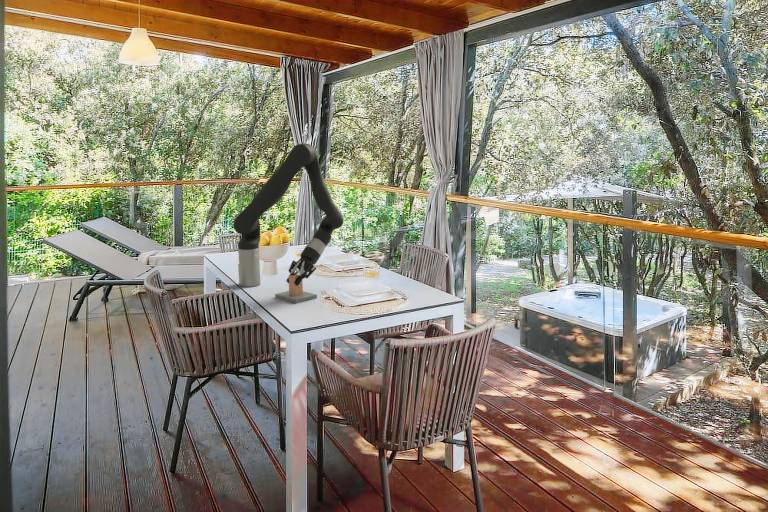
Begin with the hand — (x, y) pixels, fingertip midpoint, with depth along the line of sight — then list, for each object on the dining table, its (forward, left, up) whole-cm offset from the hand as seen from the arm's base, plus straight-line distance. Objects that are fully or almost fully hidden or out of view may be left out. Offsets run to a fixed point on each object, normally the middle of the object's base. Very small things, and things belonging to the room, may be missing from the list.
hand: (291, 283), depth 227 cm
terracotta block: (0, +2, -5) cm, 5 cm away
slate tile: (0, +2, -7) cm, 7 cm away
